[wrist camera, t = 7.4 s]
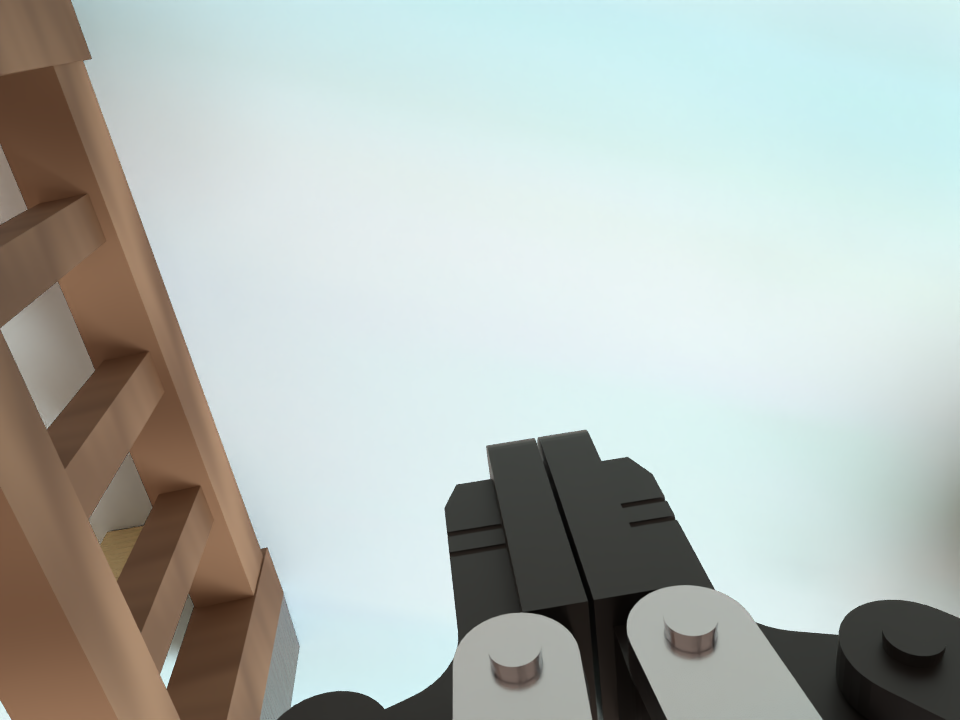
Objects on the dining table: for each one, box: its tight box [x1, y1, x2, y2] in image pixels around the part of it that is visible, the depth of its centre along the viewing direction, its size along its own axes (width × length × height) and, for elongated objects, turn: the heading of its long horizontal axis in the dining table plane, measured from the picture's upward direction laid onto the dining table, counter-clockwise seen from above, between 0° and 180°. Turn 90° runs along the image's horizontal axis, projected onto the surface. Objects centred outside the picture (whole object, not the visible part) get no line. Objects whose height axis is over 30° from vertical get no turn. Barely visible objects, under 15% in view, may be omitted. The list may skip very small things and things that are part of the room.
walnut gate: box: [0, 0, 284, 720], centre depth 16 cm, size 16×2×9 cm, turn 11°
